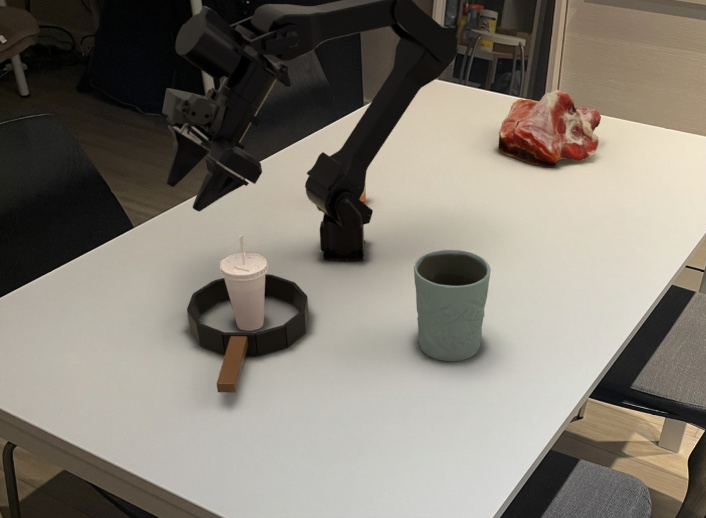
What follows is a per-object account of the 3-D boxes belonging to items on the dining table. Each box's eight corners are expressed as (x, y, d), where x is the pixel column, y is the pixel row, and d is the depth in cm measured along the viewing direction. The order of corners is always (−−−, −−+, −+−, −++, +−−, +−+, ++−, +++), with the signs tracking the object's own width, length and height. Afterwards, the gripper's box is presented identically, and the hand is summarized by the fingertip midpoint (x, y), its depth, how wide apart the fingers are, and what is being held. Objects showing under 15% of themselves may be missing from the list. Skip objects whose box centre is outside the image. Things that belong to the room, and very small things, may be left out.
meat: (608, 171, 167) (617, 120, 161) (500, 167, 167) (504, 116, 160) (592, 132, 183) (600, 84, 177) (494, 128, 183) (498, 81, 177)
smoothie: (235, 340, 118) (223, 249, 109) (221, 317, 122) (209, 228, 113) (279, 329, 120) (271, 239, 111) (264, 307, 125) (255, 219, 116)
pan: (312, 295, 128) (311, 274, 125) (293, 406, 107) (291, 383, 105) (204, 293, 127) (200, 272, 125) (163, 403, 107) (158, 381, 104)
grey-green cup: (461, 373, 113) (466, 294, 106) (397, 348, 117) (398, 271, 110) (496, 338, 120) (504, 262, 112) (435, 316, 124) (439, 241, 117)
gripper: (164, 45, 114) (107, 146, 117) (222, 84, 102) (158, 196, 105) (228, 89, 123) (174, 183, 125) (289, 130, 111) (228, 233, 114)
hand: (182, 197), depth 117 cm, fingers open, 9 cm apart
